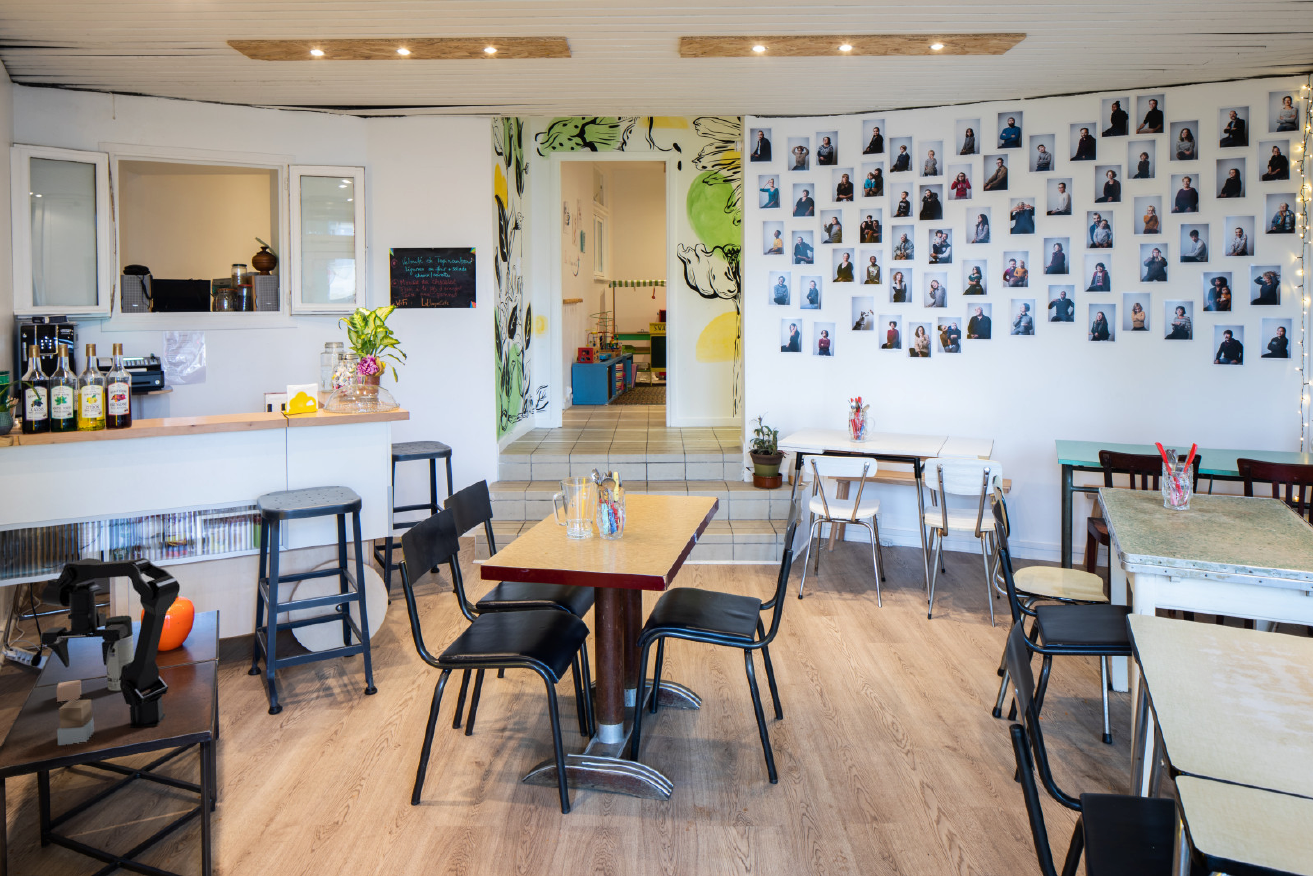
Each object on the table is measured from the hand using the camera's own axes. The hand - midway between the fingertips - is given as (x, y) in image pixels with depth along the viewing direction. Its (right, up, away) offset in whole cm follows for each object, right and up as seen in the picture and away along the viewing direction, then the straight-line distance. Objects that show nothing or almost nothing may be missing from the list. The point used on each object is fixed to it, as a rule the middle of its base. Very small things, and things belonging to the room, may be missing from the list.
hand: (86, 665), depth 237 cm
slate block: (+6, -15, -13) cm, 21 cm away
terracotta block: (-12, -12, +12) cm, 20 cm away
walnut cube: (+6, -11, -13) cm, 18 cm away
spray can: (-2, -11, +19) cm, 22 cm away
